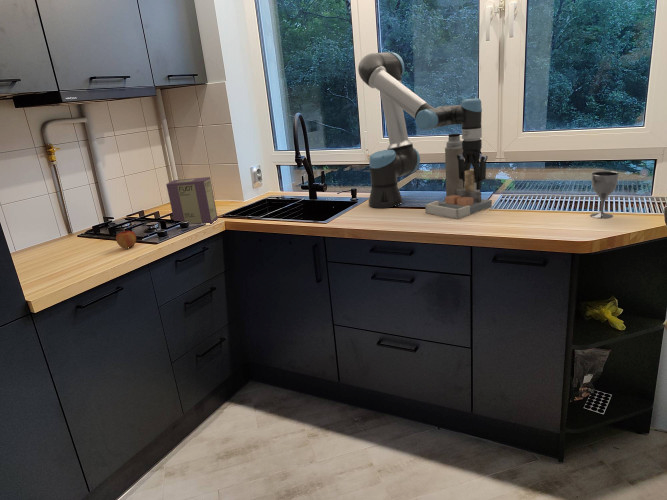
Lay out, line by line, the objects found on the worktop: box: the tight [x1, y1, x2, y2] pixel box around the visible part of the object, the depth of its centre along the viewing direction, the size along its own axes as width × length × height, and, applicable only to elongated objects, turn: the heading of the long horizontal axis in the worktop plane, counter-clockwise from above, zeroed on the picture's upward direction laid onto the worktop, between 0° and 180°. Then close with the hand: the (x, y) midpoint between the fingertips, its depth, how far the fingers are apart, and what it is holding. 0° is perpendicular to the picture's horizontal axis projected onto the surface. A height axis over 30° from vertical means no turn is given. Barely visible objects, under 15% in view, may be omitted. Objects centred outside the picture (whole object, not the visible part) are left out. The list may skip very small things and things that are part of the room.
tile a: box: [444, 195, 461, 204], centre depth 193 cm, size 4×4×2 cm
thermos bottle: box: [444, 133, 465, 197], centre depth 208 cm, size 8×8×28 cm
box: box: [165, 176, 219, 224], centre depth 211 cm, size 17×9×20 cm, turn 86°
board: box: [439, 198, 493, 215], centre depth 193 cm, size 16×14×3 cm
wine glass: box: [589, 170, 620, 220], centre depth 163 cm, size 8×8×15 cm
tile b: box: [457, 197, 473, 206], centre depth 188 cm, size 4×4×2 cm
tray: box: [424, 200, 471, 220], centre depth 187 cm, size 16×7×4 cm, turn 37°
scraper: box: [455, 168, 482, 203], centre depth 193 cm, size 12×6×12 cm, turn 37°
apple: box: [115, 228, 137, 249], centre depth 187 cm, size 7×7×8 cm
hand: (472, 196), depth 195 cm, fingers closed on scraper, 4 cm apart
